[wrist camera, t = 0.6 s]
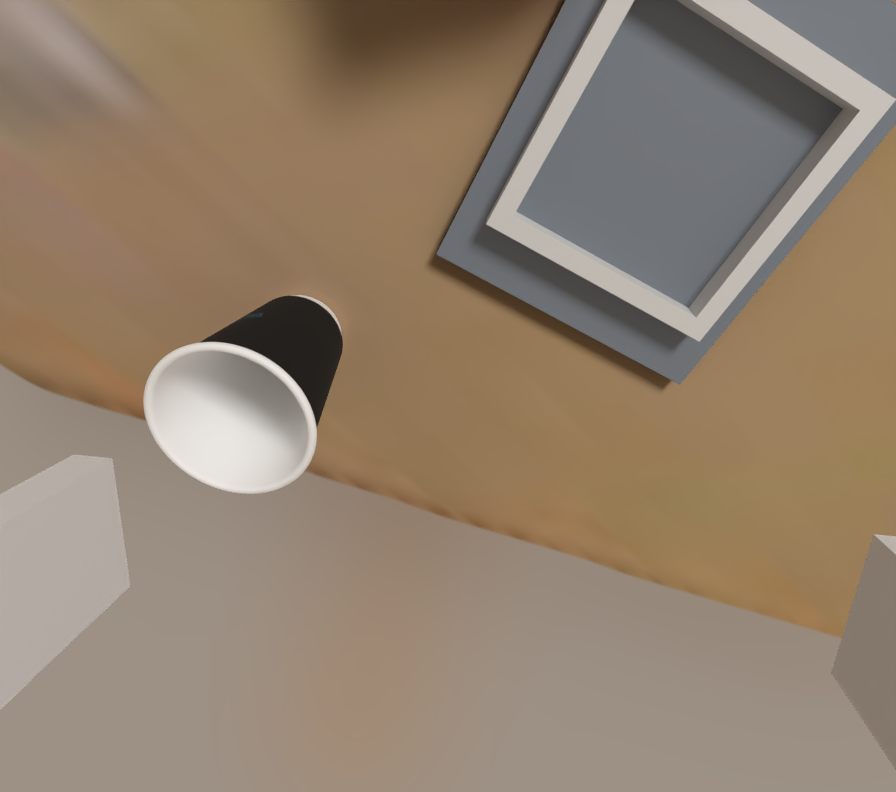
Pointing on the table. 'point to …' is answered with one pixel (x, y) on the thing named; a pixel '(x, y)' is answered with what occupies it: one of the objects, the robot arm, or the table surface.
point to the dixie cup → (247, 396)
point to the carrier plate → (674, 161)
